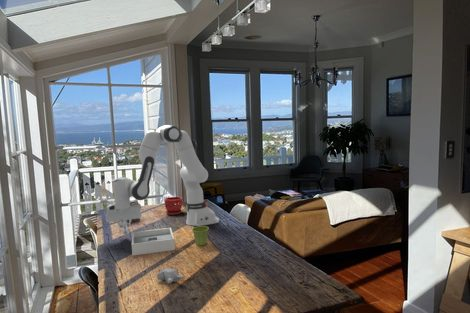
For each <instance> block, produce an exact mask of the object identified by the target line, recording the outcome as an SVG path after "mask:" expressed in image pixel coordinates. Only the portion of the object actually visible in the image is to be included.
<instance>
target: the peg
mask: <svg viewBox="0 0 470 313" xmlns="http://www.w3.org/2000/svg"><path fill="white" fill-rule="evenodd" d="M121 224H122V228H121V229H122V234H123V235H126V234H129V227H128V225H127V224H128V222H127V220H122V221H121Z"/></svg>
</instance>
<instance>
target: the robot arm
mask: <svg viewBox="0 0 470 313" xmlns="http://www.w3.org/2000/svg"><path fill="white" fill-rule="evenodd" d="M163 143H173V145H174V146H175V149H176V151H177V154H178V158H179V161H180V162H181V163H182V165H183V166H182V167H181V168H180V170H179V176H180V178H181V179H182V182H183V185H184V188H185V192H186V206H185V207H186V211H187V212H186V214H187V215H186V222H185V224H186V225H187V226H188V225H189V226H195V227H198V226H207V225H213V224H218V223H219V222H220V218H218V217H217V216H216V212H215V211H214V210H212V209H211V208H209V207H208V206H209V203H208V202H206V201H204V191H203V188H202V187H201V185H200V184H201V183H205V182H206V181H207V180H208V179H209V178H208V177H209V172H208V170H207V169H206V168H205V167H204V166H203V164H202V162H201V161H200V160H199V157H198V156H197V153H196V150H195V148H194V145H193V142H192V140H191V137H190V135H189V134H188V132H187V131H185V130H180V129H179V128H178V126H175V125H172V124H171V125H170V124H165V125H160V126H158V127H157V128H156V129H154V130H148V131H147V132H146V133H145V135H144V137H143V139H142V140H141V144H140V146H139V150H138V158H139V160H140V162H141V170H140V174H139V178H138V180H133V179H130V178H127V177H126V176H123V177H118V178H116V179H114V181H113V186H112V189H113V190H112V191H113V196H114V200H113V201H114V202H112V203H110V204H108V205H107V207H106V209H107V211H106V213H105V222H106V223H111V222H113V223H114V222H116V223H117V225H118V226H119V229H122V223H121V222H122V220H129V221H130V222H127V225H128V228H130V227H131V223H132V222H131V221H132V219H137V218H140V219H141V218H142V212H141V209H142V205H141V203H139V202H138V203H132V204H130V198H135V199H136V201H143V200H145V199H147V198H148V197H149V195H150V192H151V190H150V184H151V183H150V182H151V178H152V175H153V170H154V167H155V166H154V165H155V161H156V158H157V156H158V152H159V149H160V147H161V144H163ZM138 204H139V205H138Z"/></svg>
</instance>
